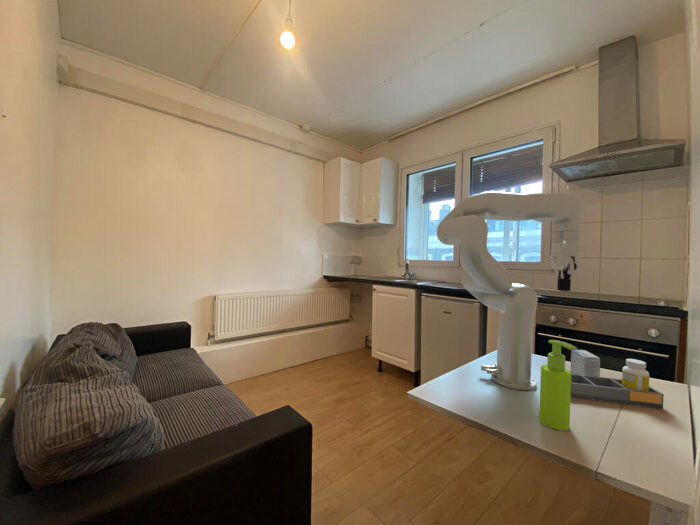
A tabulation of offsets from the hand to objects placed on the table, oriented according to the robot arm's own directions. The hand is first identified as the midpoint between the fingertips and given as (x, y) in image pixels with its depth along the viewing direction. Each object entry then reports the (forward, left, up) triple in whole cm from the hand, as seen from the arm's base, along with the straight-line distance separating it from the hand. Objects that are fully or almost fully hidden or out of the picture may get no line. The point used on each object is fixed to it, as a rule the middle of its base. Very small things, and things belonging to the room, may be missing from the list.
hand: (563, 290), depth 96 cm
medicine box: (+6, -2, -29) cm, 30 cm away
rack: (+5, -14, -29) cm, 33 cm away
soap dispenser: (-15, -35, -29) cm, 48 cm away
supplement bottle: (+13, -14, -28) cm, 34 cm away
